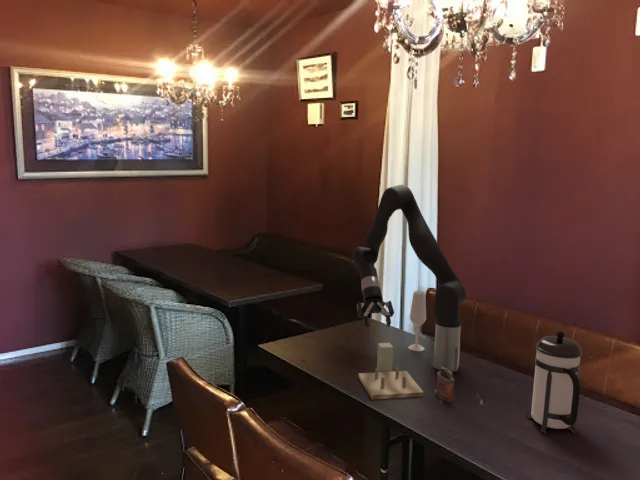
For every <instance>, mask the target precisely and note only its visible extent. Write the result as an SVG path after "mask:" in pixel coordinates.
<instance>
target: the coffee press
mask: <svg viewBox="0 0 640 480" xmlns="http://www.w3.org/2000/svg"><path fill="white" fill-rule="evenodd" d="M535 348H536V355H535V358H534V359H535V360H534V363H535V364H534V365H535V366H534V375H533V386H532V395H531V403H530V404H531V405H530V411H529V412H528V413H527V414H526V418H527V417H528V416H530V413H531V416H530V417H531V418H530V419H533V420H534V421H535V422H536V423H537V424H539V425H541V427H540V431H539V432H540V433H541V432H543V433H542V434H544V433H545V431H547V432H548V429H549V428H550V429H556V430H557V429H558V430H561V429H568V430H569V431H570V430H571V428H572V427H573V429H574V431H575V432H576V431H577V430H578V428H577V426H576V424H575V423H576V422H577V419H578V413H579V412H578V411H579V401H580V390H581V387H580V380H579V379H580V370H581V357H582V356H583V350H582V348H581V346H580V345H579V343H578V342H576V340H573V339H571V338H568V337H565V332H563V331H561V330H558V331H557V332H556V333H555V335H547V336H543V337H542V338H540V339H539V340H538V342H536V344H535ZM571 426H572V427H571ZM577 432H578V431H577Z"/></svg>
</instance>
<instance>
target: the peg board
mask: <svg viewBox="0 0 640 480" xmlns="http://www.w3.org/2000/svg"><path fill="white" fill-rule="evenodd" d="M378 370H379V369H377V368H375V369H374V372H361V373H360V372H359V373H358V376H357V378H358V379H359V381H360V382H361V384H362V385H363V388H364V389H365V391H366V393H367V394H368V396H369V397H370V399H371V400H388V399H401V398H417V397H424V391H423V389H422V388H421V387H420V386H419V385H418V383H417V382H416V381H415V380H414V378H413V377H412V376H411V375H410V373H409V372H408V371H407V370H400V367H397V366H396V367H395V371H392V372H379V371H378Z"/></svg>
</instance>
